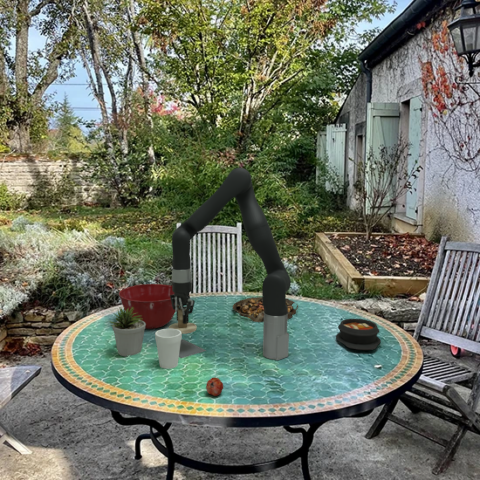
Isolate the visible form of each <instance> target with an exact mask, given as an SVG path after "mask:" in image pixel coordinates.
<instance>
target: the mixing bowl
mask: <svg viewBox="0 0 480 480" xmlns="http://www.w3.org/2000/svg"><path fill="white" fill-rule="evenodd" d="M173 294H174V292H173V291H172V285H170V284H160V283H147V284H137V285H131V286H128V287H125V288H123V289H121V290H120V291H119V292H118V296H119V297H120V301H121V304H122V308H123V311H124V310H125V313H126V311H127V309H128V308H129V311H130V309H131V308H132V307H133V309H134V310H133V309H132V310H133V311H132V310H131V311H132V313H131V314H134V313H137V314H134V315H133V316H132V317H134V316H140V317H137V318H143V319H141V321H144V322H145V323H146V326H145V329H150V330H151V329H157V328H162V327H164V326H165V325H167V324H168V323H169V322H171V320H172V319H173V317H174V315H176V311H175V310H173V307H172V303H171V298H170V295H173ZM174 304H175V303H174ZM129 311H128V312H129ZM130 316H131V315H130Z"/></svg>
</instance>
